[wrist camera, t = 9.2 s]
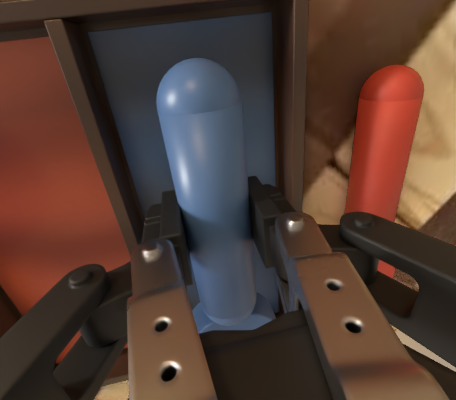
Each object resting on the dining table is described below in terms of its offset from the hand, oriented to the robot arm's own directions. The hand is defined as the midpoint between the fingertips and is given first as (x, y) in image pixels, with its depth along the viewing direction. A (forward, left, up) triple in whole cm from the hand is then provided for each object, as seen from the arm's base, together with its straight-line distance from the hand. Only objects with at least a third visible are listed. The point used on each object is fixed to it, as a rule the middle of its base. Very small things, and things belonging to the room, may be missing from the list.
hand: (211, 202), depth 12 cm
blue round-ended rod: (+3, 0, 0) cm, 3 cm away
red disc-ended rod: (+4, +10, -4) cm, 11 cm away
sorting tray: (+2, -4, -3) cm, 6 cm away
